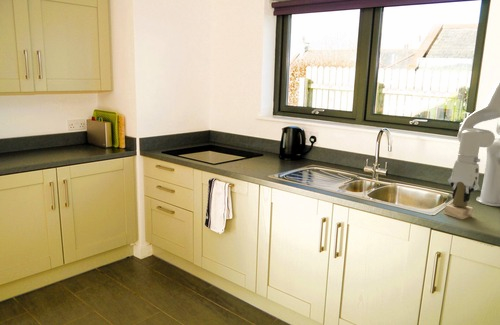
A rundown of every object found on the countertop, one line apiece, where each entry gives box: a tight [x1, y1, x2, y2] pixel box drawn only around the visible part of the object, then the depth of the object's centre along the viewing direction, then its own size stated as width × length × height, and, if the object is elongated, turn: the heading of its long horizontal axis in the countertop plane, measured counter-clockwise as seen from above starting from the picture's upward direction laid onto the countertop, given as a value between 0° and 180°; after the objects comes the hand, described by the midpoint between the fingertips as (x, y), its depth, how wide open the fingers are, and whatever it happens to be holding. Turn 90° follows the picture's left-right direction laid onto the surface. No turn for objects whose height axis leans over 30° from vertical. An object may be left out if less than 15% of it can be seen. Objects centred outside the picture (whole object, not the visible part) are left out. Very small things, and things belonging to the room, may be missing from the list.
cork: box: [451, 182, 468, 207], centre depth 184 cm, size 6×6×11 cm
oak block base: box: [443, 203, 474, 220], centre depth 186 cm, size 8×8×4 cm
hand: (460, 199), depth 185 cm, fingers closed on cork, 4 cm apart
